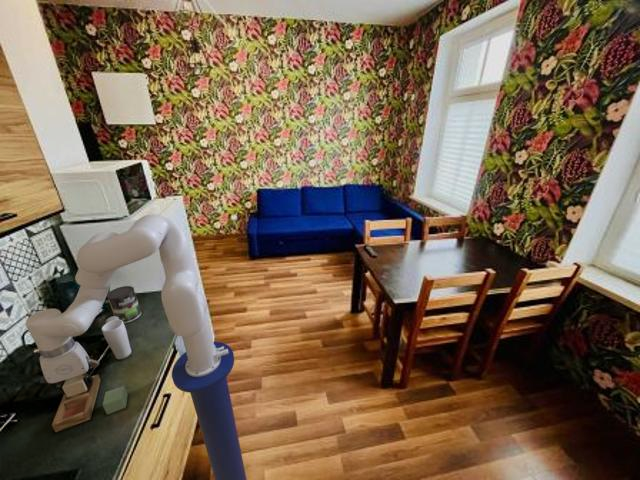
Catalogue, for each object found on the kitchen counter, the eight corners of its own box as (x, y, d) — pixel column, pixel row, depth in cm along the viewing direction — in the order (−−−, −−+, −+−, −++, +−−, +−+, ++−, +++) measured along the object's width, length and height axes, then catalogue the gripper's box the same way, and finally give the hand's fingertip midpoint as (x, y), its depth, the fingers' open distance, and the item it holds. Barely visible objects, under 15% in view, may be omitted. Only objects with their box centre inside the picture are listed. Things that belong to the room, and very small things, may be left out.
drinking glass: (115, 351, 108) (103, 322, 102) (134, 346, 111) (124, 317, 105) (112, 364, 102) (99, 333, 96) (133, 357, 105) (121, 327, 99)
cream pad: (90, 379, 92) (85, 369, 91) (86, 391, 88) (82, 381, 86) (71, 385, 90) (67, 375, 88) (67, 397, 86) (62, 387, 84)
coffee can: (145, 314, 130) (138, 289, 124) (122, 326, 122) (113, 301, 116) (135, 307, 135) (127, 283, 129) (112, 318, 126) (102, 293, 121)
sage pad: (127, 395, 90) (123, 385, 89) (125, 407, 86) (121, 398, 85) (109, 401, 88) (105, 392, 87) (106, 414, 84) (102, 405, 83)
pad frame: (100, 380, 96) (97, 374, 94) (90, 419, 83) (86, 412, 82) (71, 390, 92) (67, 384, 91) (55, 432, 79) (51, 425, 78)
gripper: (14, 366, 75) (40, 408, 82) (89, 344, 83) (108, 386, 90) (26, 348, 81) (49, 389, 89) (95, 329, 89) (111, 369, 96)
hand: (78, 387), depth 89 cm, fingers closed on cream pad, 5 cm apart
